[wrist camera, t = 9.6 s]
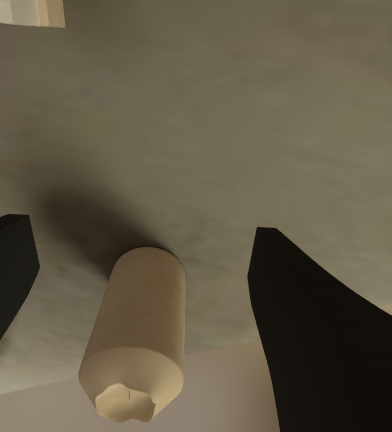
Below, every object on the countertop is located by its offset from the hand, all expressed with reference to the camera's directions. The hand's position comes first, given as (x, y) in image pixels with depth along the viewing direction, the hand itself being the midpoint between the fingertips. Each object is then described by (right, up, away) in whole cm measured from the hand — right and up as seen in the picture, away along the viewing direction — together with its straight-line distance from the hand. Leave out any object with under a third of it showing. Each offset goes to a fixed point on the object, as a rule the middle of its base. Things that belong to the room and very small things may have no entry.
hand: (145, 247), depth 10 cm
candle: (-2, -3, +14) cm, 15 cm away
